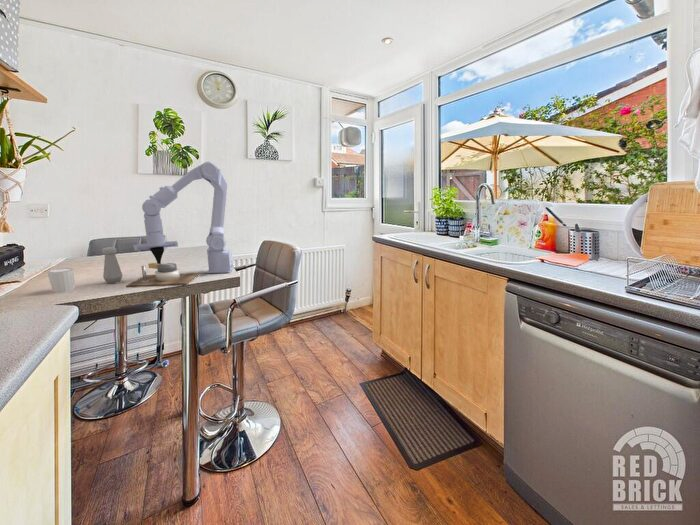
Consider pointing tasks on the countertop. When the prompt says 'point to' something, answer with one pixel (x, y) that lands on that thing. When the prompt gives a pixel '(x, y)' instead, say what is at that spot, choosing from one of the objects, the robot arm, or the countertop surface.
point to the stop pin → (144, 275)
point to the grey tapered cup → (62, 279)
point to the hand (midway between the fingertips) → (159, 266)
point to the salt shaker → (111, 266)
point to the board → (182, 280)
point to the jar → (167, 275)
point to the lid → (163, 267)
